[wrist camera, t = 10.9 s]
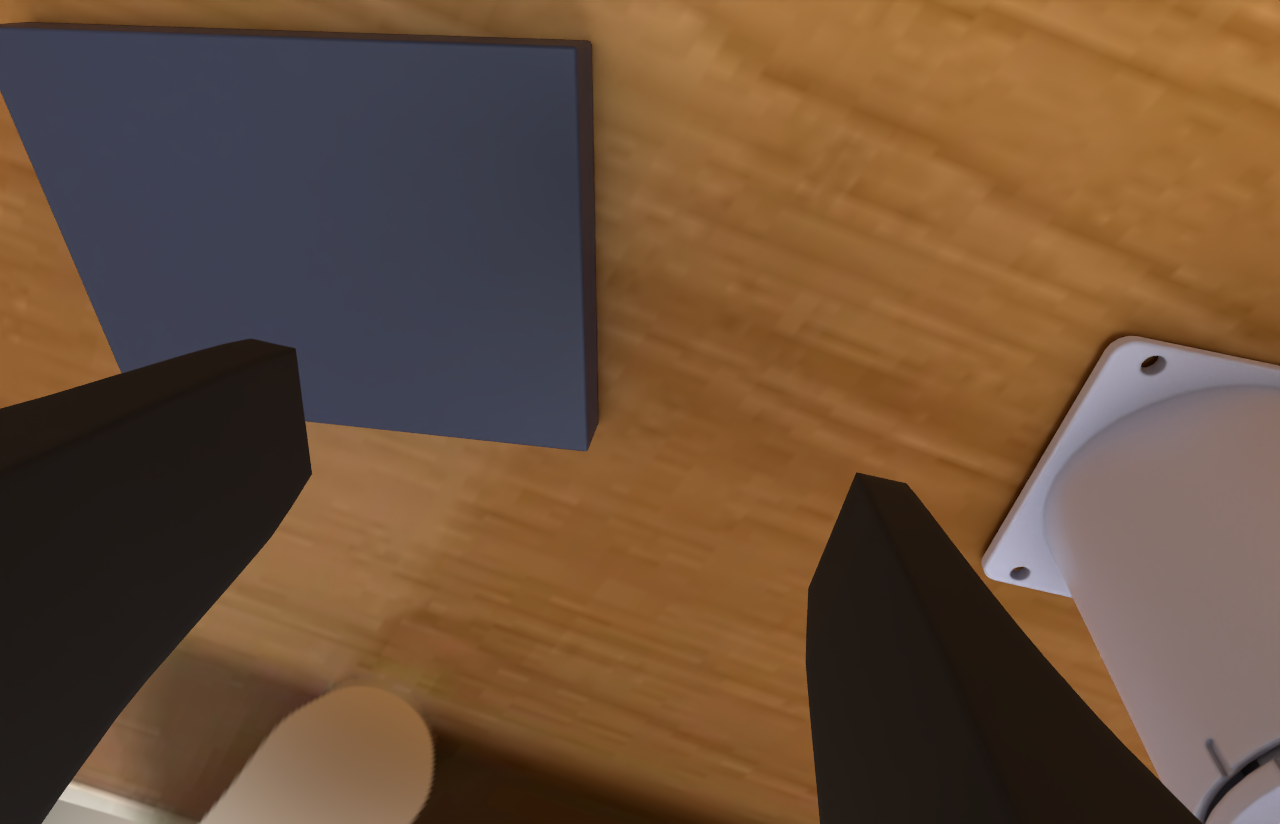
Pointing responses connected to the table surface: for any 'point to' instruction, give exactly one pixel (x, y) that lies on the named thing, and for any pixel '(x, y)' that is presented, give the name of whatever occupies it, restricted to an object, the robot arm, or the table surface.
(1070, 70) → the table surface
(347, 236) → the notebook
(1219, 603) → the robot arm
